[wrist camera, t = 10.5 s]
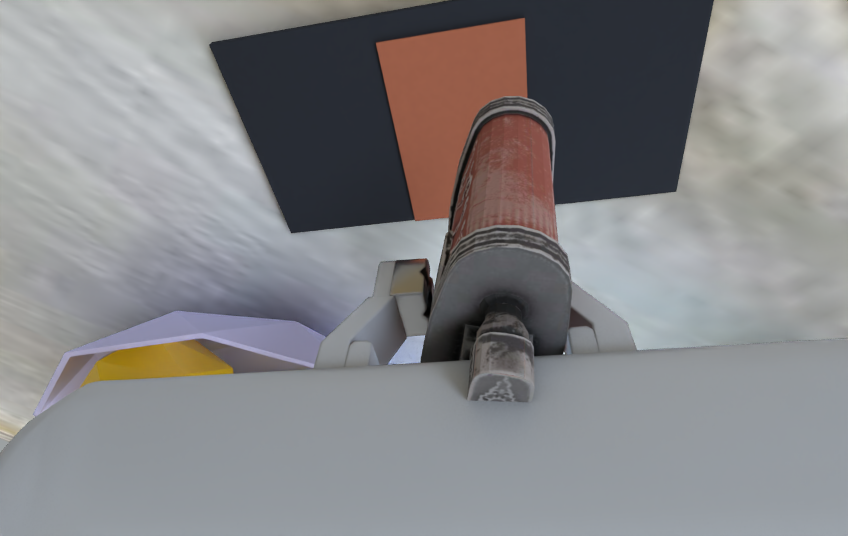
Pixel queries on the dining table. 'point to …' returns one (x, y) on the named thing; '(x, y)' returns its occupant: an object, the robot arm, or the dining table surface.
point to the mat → (464, 100)
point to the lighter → (502, 256)
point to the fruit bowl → (185, 351)
